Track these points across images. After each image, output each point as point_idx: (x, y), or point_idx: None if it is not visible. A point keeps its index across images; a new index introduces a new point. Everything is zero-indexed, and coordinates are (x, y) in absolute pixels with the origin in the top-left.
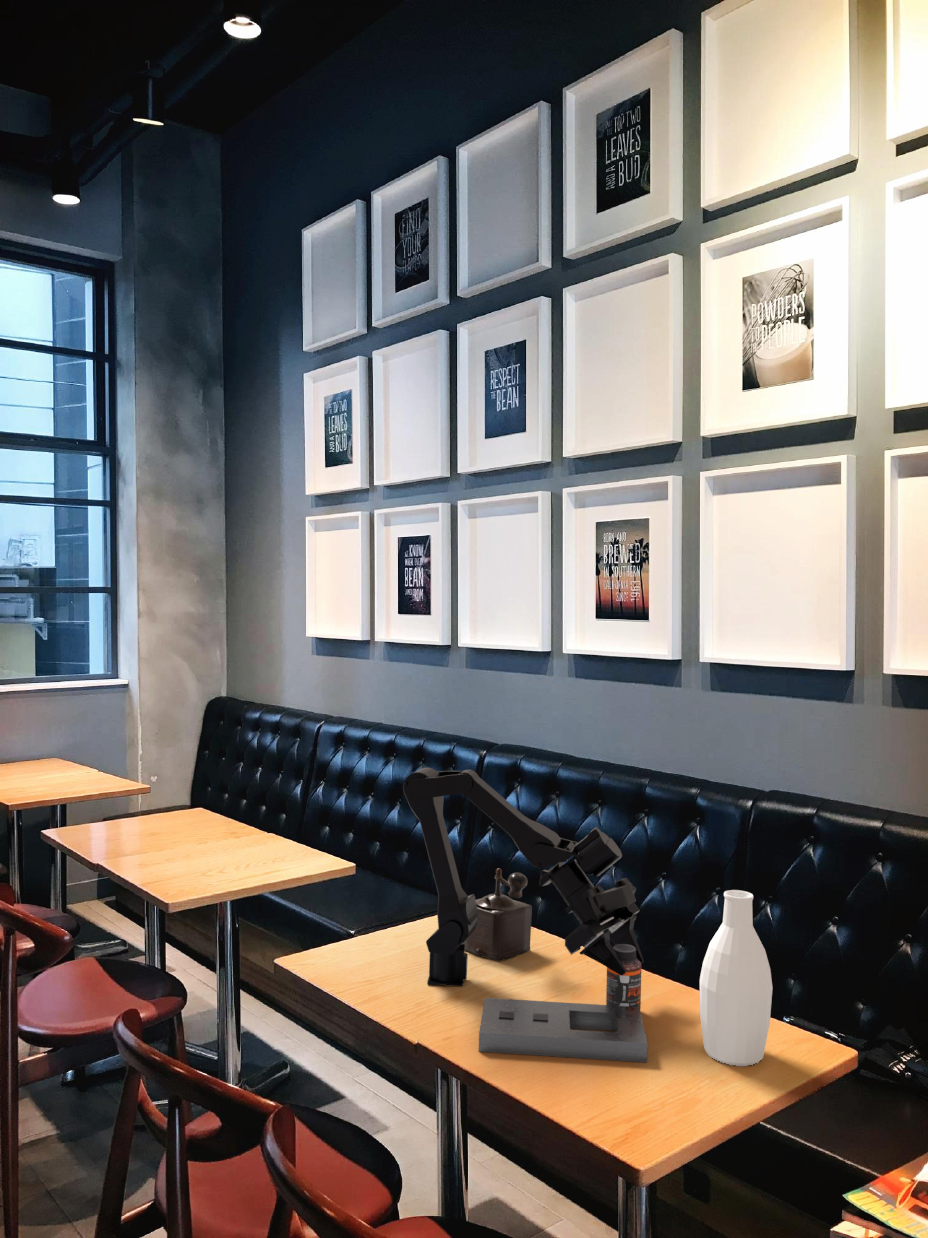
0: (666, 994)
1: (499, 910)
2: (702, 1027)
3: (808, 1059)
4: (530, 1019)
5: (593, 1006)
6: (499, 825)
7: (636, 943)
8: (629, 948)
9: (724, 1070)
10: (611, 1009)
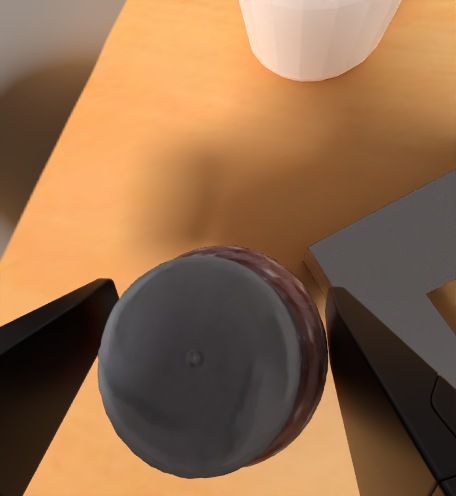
0: (56, 282)
1: None
2: (380, 12)
3: None
4: None
5: None
6: None
7: (6, 331)
8: (190, 307)
9: (406, 15)
10: (402, 321)
